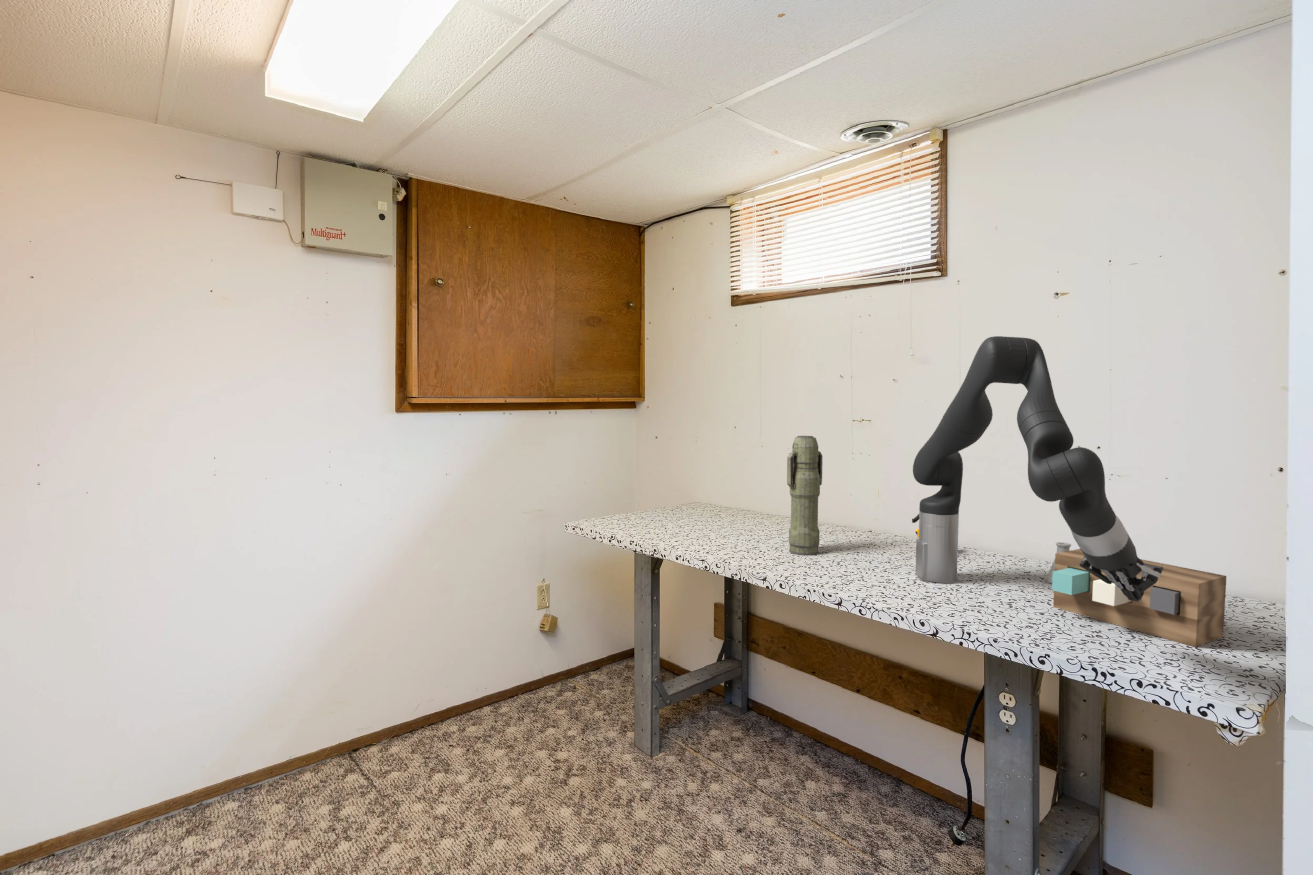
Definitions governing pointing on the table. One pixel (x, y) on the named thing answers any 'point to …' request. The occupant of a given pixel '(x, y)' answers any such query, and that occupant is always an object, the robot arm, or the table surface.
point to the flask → (1060, 548)
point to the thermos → (804, 495)
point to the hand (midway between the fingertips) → (1135, 596)
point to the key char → (1165, 600)
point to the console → (1189, 627)
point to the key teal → (1071, 581)
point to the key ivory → (1108, 593)
